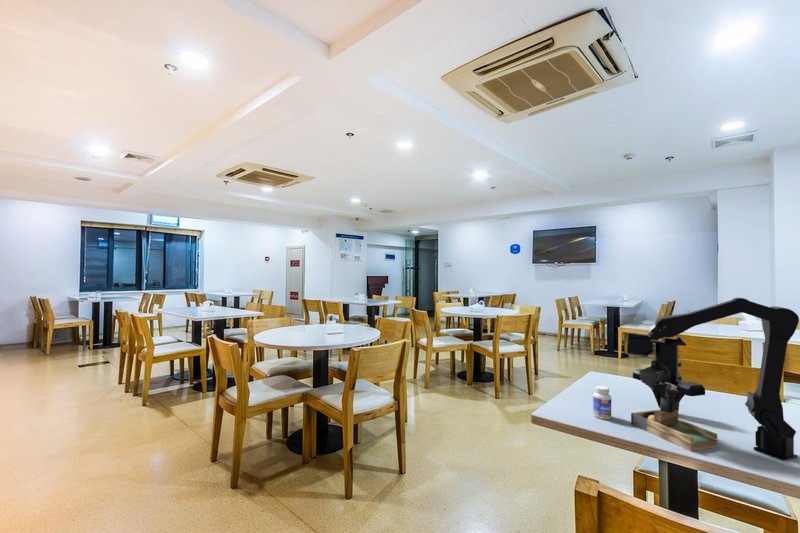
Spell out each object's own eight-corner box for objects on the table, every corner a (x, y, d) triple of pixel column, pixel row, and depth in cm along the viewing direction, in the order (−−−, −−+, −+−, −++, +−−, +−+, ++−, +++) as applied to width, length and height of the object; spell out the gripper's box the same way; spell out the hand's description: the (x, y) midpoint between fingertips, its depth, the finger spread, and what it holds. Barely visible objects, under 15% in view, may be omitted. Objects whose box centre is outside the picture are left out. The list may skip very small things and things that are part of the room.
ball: (651, 417, 119) (657, 428, 117) (642, 418, 118) (649, 429, 116) (658, 412, 117) (665, 424, 114) (650, 413, 116) (657, 425, 113)
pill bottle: (601, 420, 121) (602, 390, 121) (589, 414, 126) (589, 385, 126) (615, 418, 123) (615, 389, 123) (602, 412, 128) (602, 384, 128)
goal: (671, 427, 116) (671, 416, 116) (646, 431, 113) (646, 419, 113) (654, 420, 121) (655, 410, 121) (631, 424, 118) (631, 413, 118)
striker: (679, 424, 112) (679, 398, 112) (662, 427, 110) (662, 400, 110) (670, 420, 115) (670, 395, 115) (652, 423, 113) (652, 396, 113)
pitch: (717, 446, 103) (717, 433, 103) (690, 451, 101) (690, 438, 101) (671, 427, 116) (671, 416, 116) (646, 431, 113) (646, 419, 113)
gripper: (619, 353, 119) (619, 401, 119) (677, 367, 101) (676, 424, 101) (646, 351, 122) (645, 398, 122) (706, 365, 105) (706, 420, 104)
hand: (666, 409), depth 112 cm, fingers closed on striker, 3 cm apart
